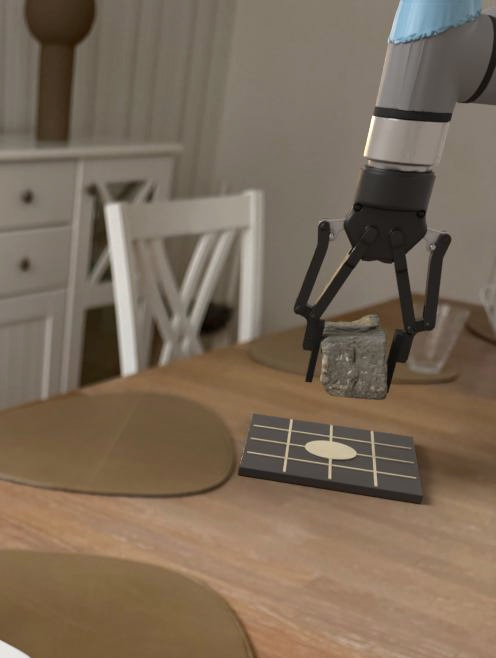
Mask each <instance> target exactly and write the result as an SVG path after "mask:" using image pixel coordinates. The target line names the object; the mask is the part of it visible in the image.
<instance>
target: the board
mask: <svg viewBox="0 0 496 658" xmlns="http://www.w3.org/2000/svg"><path fill="white" fill-rule="evenodd" d="M415 447H416V446H415V442H414V437H413V436H410V435H405V434H404V435H403V434H397V433H390V432H383V431H375V430H370V429H362V428H355V427H350V426H349V427H348V426H343V425H335V424H334V425H333V424H327V423H322V422H321V423H320V422H315V421H307V420H301V419H294V418H289V417H288V418H287V417H281V416H274V415H266V414H261V413H255V412H254V413H253V412H252V414H251V417H250V422H249V426H248V429H247V435H246V437H245V441H244V446H243V450H242V454H241V457H240V461H239V466H238V471H237V475H238V476H243V477H249V478H256V479H260V480H261V479H262V480H268V481H274V482H280V483H287V484H294V485H299V486H305V487H312V488H317V489H319V488H320V489H326V490H332V491H336V492H338V491H339V492H344V493H351V494H357V495H363V496H369V497H376V498H381V499H387V500H393V501H400V502H407V503H411V504H412V503H413V504H419V505H422V502H423V498H424V492H423V488H422V481H421V476H420V470H419V465H418V464H419V463H418V459H417V453H416V448H415Z"/></svg>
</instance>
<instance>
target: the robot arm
mask: <svg viewBox="0 0 496 658" xmlns="http://www.w3.org/2000/svg"><path fill="white" fill-rule="evenodd" d="M482 4H483V0H399V3H398V6H397V9H396V11H395V15H394V17H393V18H394V19H393V22H392V27H391V29H390V32H389V36H388V38H387V48H386V52H385V57H384V62H383V68H382V72H381V78H380V82H379V86H378V87H379V88H378V92H377V95H376V101H375V106H374V108H373V113H372V114H373V115H371V120H370V125H369V129H368V133H367V138H366V142H365V147H364V152H363V157H364V159H365V160H366V161H367V164H363V165H362V167H361V168H360V169H359V173H358V178H357V183H356V187H355V192H354V195H353V201H352V205H351V208H350V210H349V211H348V213H347V214H346V215H345V217H344V218H335V219H328V218H327V217H323V218H321V219H320V220H319V221H318V224H317V242H316V245H315V247H314V250H313V253H312V256H311V259H310V261H309V264H308V266H307V269H306V271H305V274H304V276H303V280H302V281H301V282H302V283H301V285H300V288H299V291H298V293H297V296H296V299H295V301H294V304H293V312H294V314H296V315H299V316H300V317H303V318H304V319H305V320H306V326H305V329H304V335H303V340H302V345H301V346H302V350H303V351H309V352H310V355H309V360H308V364H307V369H306V373H305V380H304V381H305V382H306V383H309V384H310V383H313V379H314V375H315V370H316V366H317V361H318V357H319V352H320V350H321V340H322V335H323V331H324V326H325V322H326V319H323V318H321V317H322V316H323V315H324V313H325V311H326V310H327V309H328V307H329V306H330V304H331V303H332V302H333V300H334V298H336V296H337V294H338V293H339V291H340V290H341V288H342V287H343V285H344V284H345V282H346V281H347V279H348V278H349V276H350V275H351V273H352V272H353V271H354V269H355V268H356V267H357V265H358V264H359V262H361V261H362V262H374V261H378V262H381V263H382V264H389V265H392V264H393V267H394V272H395V278H396V280H395V281H396V286H397V294H398V299H399V305H400V312H401V318H402V325H403V327H402V328H395V329H394V333H393V337H392V341H391V344H390V348H389V352H388V356H387V394H389V391H390V388H391V384H392V380H393V378H394V377H393V376H394V373H395V369H396V365H397V363H400V364H406V362H407V361H408V360H409V357H410V353H411V349H412V345H413V342H414V338H415V336H416V335H417V334H418V333H422V332H426V331H427V332H431V331H433V330H434V329H435V328H436V324H437V317H438V316H437V314H438V305H439V298H440V291H441V290H440V289H441V281H442V270H443V263H444V257H445V255H446V254H447V252H448V249H449V247H450V245H451V243H452V239H453V238H452V236H451V234H450V233H449V231H447V230H442V231H440V230H437V229H434V228H431V227H428V223H427V212H428V209H429V204H430V200H431V197H432V194H433V190H434V187H435V182H436V178H437V175H435V173H436V172H435V171H433V167H437V166H438V165H440V163H441V160H442V156H443V152H444V147H445V145H446V144H445V143H446V140H447V137H448V133H449V128H450V125H451V121H452V118H453V113H454V110H455V108H456V104H457V103H458V104H475V105H476V104H477V105H486V106H487V105H489V106H496V5H494V6H491V7H489V8H486V9H484V10H483V7H482V6H483V5H482ZM343 230H344V232H345V235H346V237H347V239H348V242H349V244H350V246H351V248H350V249H349V251H347V253H346V255H345V256H344V258H343V260H342V261H341V263H340V265H339V266H338V267H337V269H336V271H335V272H334V274H333V275H332V276H331V278H330V280H329V281H328V282H327V284H326V285H325V287H324V289H323V290H322V291H321V293H320V294H319V296H318V297H317V299H316V300H315V302H314V303H313V305H312V304H310V303H308V302H309V300H310V297H311V295H312V292H313V289H314V286H315V284H316V282H317V278H318V275H319V273H320V271H321V268H322V265H323V263H324V260H325V257H326V255H327V252H328V249H329V245H330V242H334V241H335V240H336V239H337V237H338V234H339V233H340V232H341V231H343ZM423 239H424V240H425V241H426V243H425V248H426V250H427V252H428V253H429V255H428V262H427V271H426V280H425V288H424V289H425V290H424V299H423V308H422V315H421V316H420V317H416V316H415V310H414V308H415V307H414V303H413V302H414V301H413V297H412V289H411V282H410V275H409V268H408V261H407V254H408V253H409V252H410V251H411V250H412V249H413V248H414V247H415V246H416V245H417V244H419V243H420V242H421V241H422V240H423Z"/></svg>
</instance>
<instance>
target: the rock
mask: <svg viewBox="0 0 496 658" xmlns="http://www.w3.org/2000/svg"><path fill="white" fill-rule="evenodd" d="M380 322H381V321H380V316H379V315H377V314H372V313H371V314H367V315H363V316H362V317H361V318H359V319H356V320H353V321H350V322H348V321H343V320H340V321H337V322H335V321H330V320H329V321H325V326H324V331H323V335H322V340H321V344H320V358H321V363H320V364H321V365H320V366H321V370H320V371H321V373H320V377H319V380H320V384H321V385H322V387H323V388H324V391H325V392H326V393H327V394H328V395H330V396H332V397H338V398H339V397H341V398H349V399H358V400H359V399H360V400H361V399H362V400H370V401H371V400H377V401H383V400H385V399H387V395H388V393H387V359H388V356H387V333H386V332H385V331H384V330H383V328H382V327H381V323H380Z"/></svg>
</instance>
